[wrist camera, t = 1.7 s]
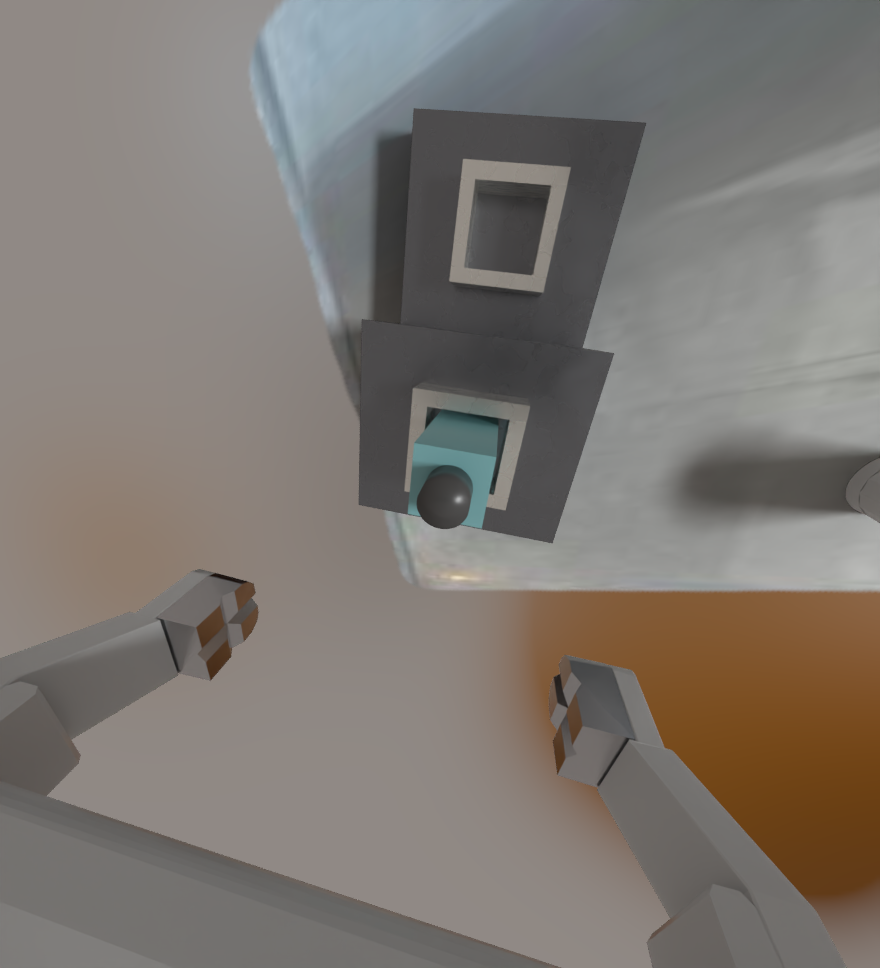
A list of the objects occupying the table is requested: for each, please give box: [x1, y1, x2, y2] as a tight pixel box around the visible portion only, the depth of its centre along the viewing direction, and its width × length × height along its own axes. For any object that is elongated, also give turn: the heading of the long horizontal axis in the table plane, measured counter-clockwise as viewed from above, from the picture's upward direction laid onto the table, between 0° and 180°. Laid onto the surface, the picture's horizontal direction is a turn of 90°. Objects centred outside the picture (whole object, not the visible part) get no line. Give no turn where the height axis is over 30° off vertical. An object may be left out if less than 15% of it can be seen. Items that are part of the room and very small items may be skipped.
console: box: [359, 108, 646, 543], centre depth 25 cm, size 28×16×14 cm, turn 173°
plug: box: [408, 410, 499, 529], centre depth 19 cm, size 5×4×10 cm
